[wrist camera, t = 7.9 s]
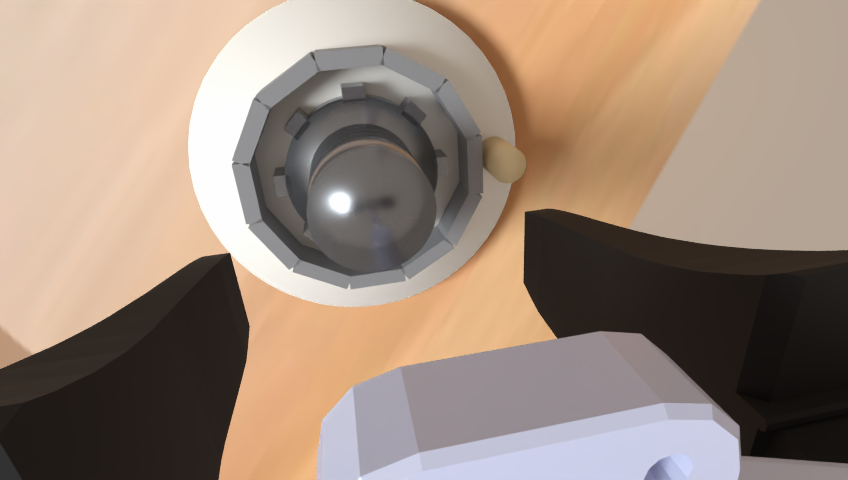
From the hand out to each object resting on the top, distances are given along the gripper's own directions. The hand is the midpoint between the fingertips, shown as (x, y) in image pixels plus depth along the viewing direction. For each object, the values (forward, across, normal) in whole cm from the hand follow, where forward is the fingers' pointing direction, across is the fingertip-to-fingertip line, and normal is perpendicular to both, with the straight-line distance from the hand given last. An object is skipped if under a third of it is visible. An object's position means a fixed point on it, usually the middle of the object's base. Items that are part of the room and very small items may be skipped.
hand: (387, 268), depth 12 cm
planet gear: (+9, 0, 0) cm, 9 cm away
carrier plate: (+10, 0, 0) cm, 10 cm away
